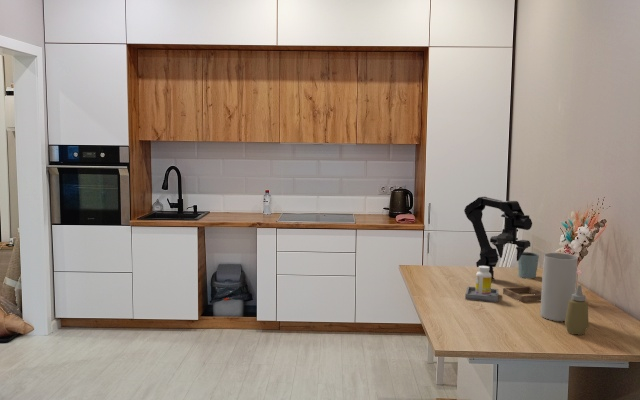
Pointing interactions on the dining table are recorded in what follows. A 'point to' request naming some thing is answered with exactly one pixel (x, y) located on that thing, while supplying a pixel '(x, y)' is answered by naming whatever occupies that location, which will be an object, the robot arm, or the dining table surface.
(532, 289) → the tray
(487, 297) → the slate tray
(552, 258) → the cylinder vase
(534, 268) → the teal tapered cup
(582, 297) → the squeeze bottle
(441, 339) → the dining table surface
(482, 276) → the supplement bottle
